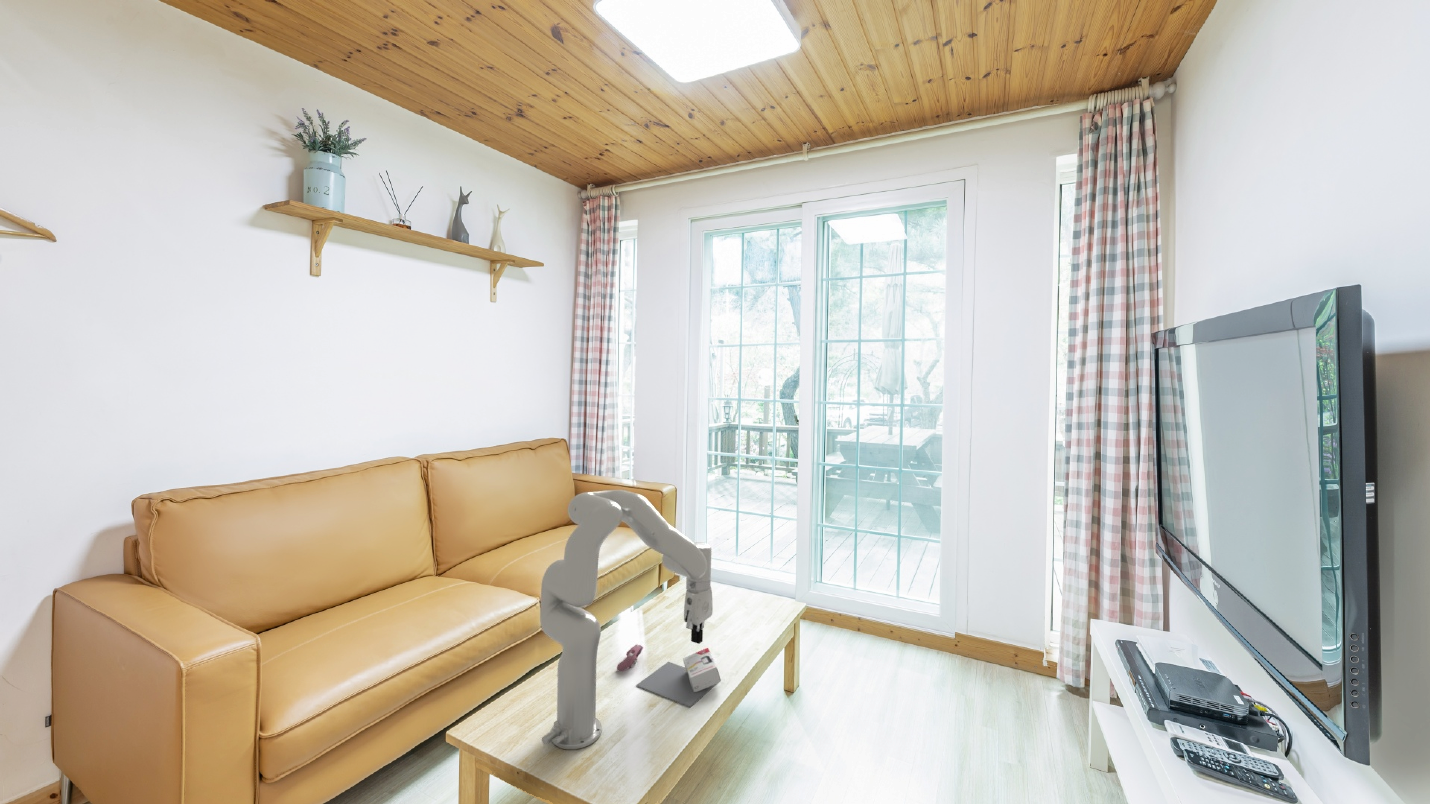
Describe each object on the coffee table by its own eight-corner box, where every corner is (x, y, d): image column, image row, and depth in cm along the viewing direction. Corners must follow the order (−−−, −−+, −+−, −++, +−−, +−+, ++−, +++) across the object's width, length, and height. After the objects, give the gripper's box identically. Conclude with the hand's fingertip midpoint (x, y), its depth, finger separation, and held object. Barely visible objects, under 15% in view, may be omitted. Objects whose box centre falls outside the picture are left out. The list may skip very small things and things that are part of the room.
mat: (690, 708, 152) (690, 706, 152) (636, 686, 162) (636, 685, 162) (719, 681, 166) (719, 680, 166) (668, 662, 176) (668, 661, 176)
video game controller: (627, 678, 169) (637, 659, 168) (614, 670, 170) (624, 651, 169) (638, 662, 179) (647, 644, 178) (626, 654, 179) (635, 636, 179)
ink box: (708, 646, 171) (717, 665, 160) (712, 661, 172) (722, 681, 160) (681, 657, 170) (689, 677, 158) (686, 672, 170) (694, 693, 159)
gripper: (695, 594, 163) (693, 655, 163) (721, 579, 175) (719, 635, 176) (674, 588, 166) (672, 648, 167) (701, 574, 179) (699, 629, 180)
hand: (696, 641), depth 172 cm, fingers closed
